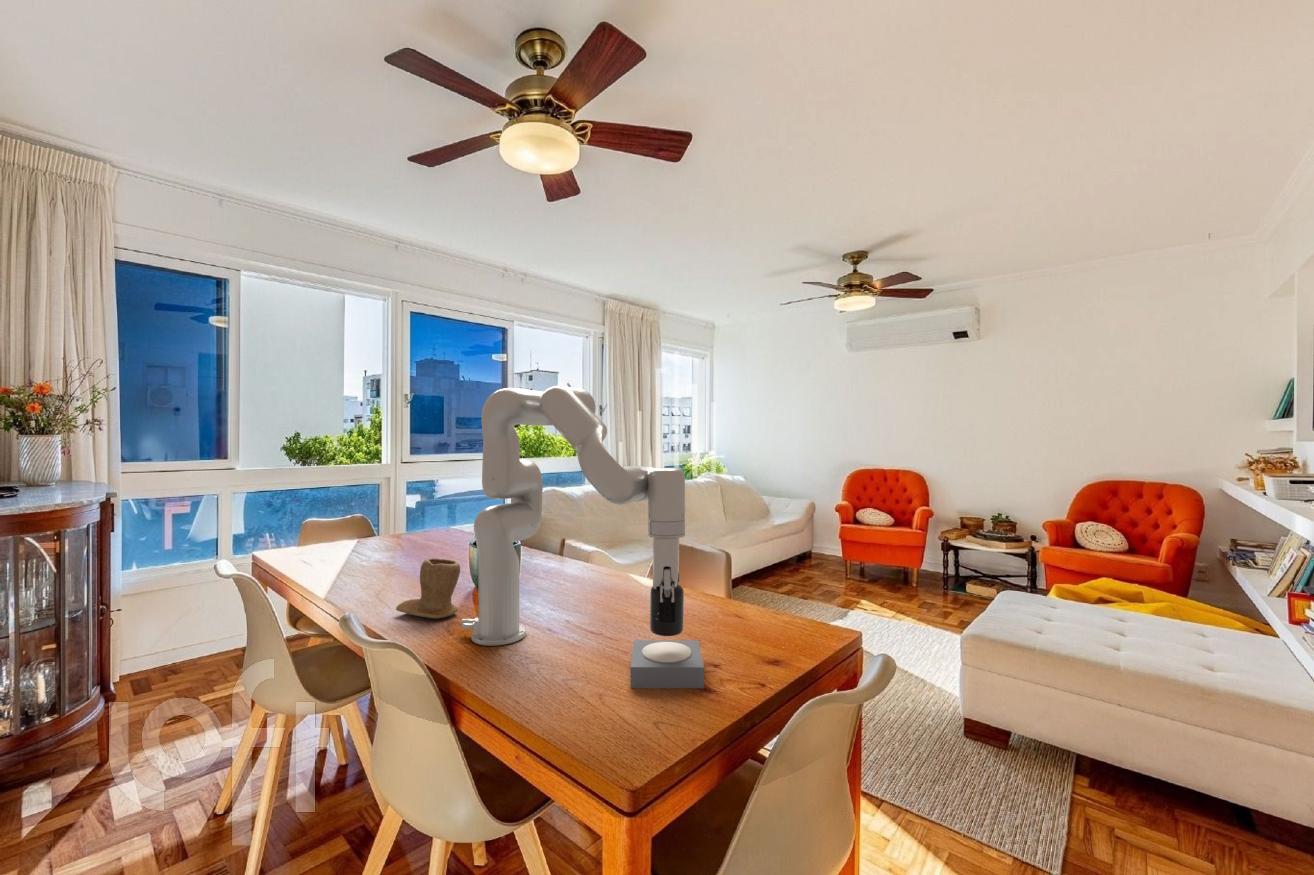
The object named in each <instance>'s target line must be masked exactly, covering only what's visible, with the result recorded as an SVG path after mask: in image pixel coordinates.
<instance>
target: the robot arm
mask: <svg viewBox="0 0 1314 875" xmlns="http://www.w3.org/2000/svg"><path fill="white" fill-rule="evenodd" d="M596 407H597V406H596V401H595V399H594V397H593V395H592V394H591V393H590V392H588V391H587V390H585V389H583V388H579V387H573V386H566V385H565V386H564V385H554V386H551V387H549V388H547V389H546V390H545V391H540V390H533V389H527V388H526V389H525V388H520V387H519V388H517V387H507V388H501V389H498V390H496V391H494V392H493V393H492V394H489V396H488V397H487V398H486V401H485V402H484V403H483V406H482V410H481V420H480V421H481V429H482V437H483V438H482V440H483V441H482V443H483V446H482V463H481V465H482V466H481V467H482V468H481V469H482V470H481V473H482V474H481V486H482V490H483V493H484V495H485V496H486V497H487V498H489V499H493V500H507V499H510V502H509V503H501V504H494V505H490V506H487V507H486V508H484V509H482V510H481V511H479V513H478V514H477V515H476V517H475V519H474V522H473V534H474V538H475V543H476V548H477V549H476V551H477V565H478V567H477V568H478V569H477V570H478V572H477V574H478V580H477V581H478V582H477V583H478V585H477V586H478V588H477V589H478V591H477V592H478V595H477V597H478V599H477V600H478V602H477V604H478V610H477V611H478V613H477V615H478V616H477V617H475V618H474V619H473V618H462V619H461V622H460V626H461V628H462V629H463V630H472V633H471V636H470V637H471V641H472V642H473V643H475V644H476V645H480V646H488V647H489V646H496V647H497V646H504V645H509V644H513V643H516V642H518V641H520V640H522V639H523V638H525V636H526V634H527V628H526V627H525V626H524V625H521V624H520V558H519V555H518V553H517V551H516V548H515V546H514V543H515V542H519V541H523V540H527V539H530V538H532V537H533V536H535V535H536V534H537V533H538V531H539V529H540V526H541V523H542V516H543V515H542V514H543V512H542V511H543V486H544V485H543V483H544V482H543V475H542V472H541V470H540V468H539V466H538V465H537V464H536V463H535V462H534V461H532V460H530V459H526V458H520V456H521V455H520V450H521V444H520V438H519V435H518V432H517V431H516V429H515V426H519V425H523V426H537V427H538V426H542V427H544V426H545V427H546V426H553V427H554V428H555V429H556V430H557V431H558V432H559V434H560V435H561V436H562V437H563V438H564V439H565V441H567V442H568V444H570V446H571V447H572V448H573V449H574V450H575V451H576V454H577V461H578V464H579V466H580V470H581V472H582V474H583V475H584V477H585V478H586V480H587V481H588V483H590V485H591V486H592V487H593V488H594V489H595V490H596V491H597V493H598V494H599V495H600V496H602V497H603V498H604V499H605V500H607V502H610V503H611V504H614V505H626V504H630V503H637V502H642V501H648V502H647V505H648V506H647V507H648V508H647V513H648V516H647V521H648V522H647V524H648V526H647V529H648V530H647V531H648V533H647V534H648V537H650V538H652V539H653V541H652V586H653V587H654V588H656V586H660V602H659V622H660V623H674V622H675V602H674V588H675V587H677V583H678V584H679V582H678V572H679V568H680V567H679V566H680V539H681V538H684V537H686V477H685V472H684V470H682V468H678V467H652V466H645V465H629V466H622V465H621V464H620V463H618V461H617V460H616V459H615V458H614V457H613V456H612V455H611V454H610V453H609V452H608V450H607V449H606V447H605V445H604V443H603V442H604V441H605V439H606V437H607V434H608V428H607V425H606V424H605V423H604V422H603V421H602V420H601V419H600V417H598V416H597V415H596V414H595V413H596ZM674 581H675V583H674ZM662 584H664V586H662ZM671 584H672V586H671ZM663 590H664V591H663Z"/></svg>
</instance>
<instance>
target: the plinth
mask: <svg viewBox="0 0 1314 875" xmlns="http://www.w3.org/2000/svg"><path fill="white" fill-rule="evenodd" d="M630 689H705V665H704V661H703V657H702V653H701V647H700V640H699V639H697V640H694V639H693V640H690V639H688V640H687V639H686V640H685V639H684V640H683V639H681V640H680V639H679V640H678V639H677V640H676V639H675V640H674V639H673V640H671V639H668V640H667V639H666V640H665V639H663V640H662V639H660V640H659V639H648V640H647V639H645V640H644V639H642V640H640V639H639V640H638V639H634V640H633V643H632V653H631V661H630Z"/></svg>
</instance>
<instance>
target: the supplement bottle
mask: <svg viewBox="0 0 1314 875" xmlns="http://www.w3.org/2000/svg"><path fill="white" fill-rule="evenodd" d="M674 583H675V581H674ZM679 583H680V572H679V571H678V583H677V587H675V588H674V602H675V622H674V623H660V622H659V602H660V586H656V588H654V587H653V585H652V587H651V588H650V594H649V595H650V596H649V597H650V598H649V599H650V600H649V602H650V610H649V611H650V612H649V628H650V631H651V633H652V634H654V635H656V636H660V637H674V636H678V635H680V634H681V633H682V632H683V631H684V614H685V613H684V612H685V611H684V606H685V605H684V604H685V603H684V602H685V601H684V600H685V591H684V588H683V586H682V585H681V584H679ZM662 586H664V584H662ZM671 586H672V584H671ZM663 591H664V590H663Z"/></svg>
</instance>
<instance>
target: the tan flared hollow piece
mask: <svg viewBox="0 0 1314 875" xmlns="http://www.w3.org/2000/svg"><path fill="white" fill-rule="evenodd" d="M460 574H461V565H460V563H459V562H458V561H456V560H452V559H445V558H434V557H433V558H430V557H429V558H425V559H424V561H423V562H422V563H421V565H420V571H419V585H420V592H421V595H420V598H413V599H409V600H405V601H403V602H400V603H399V604H397V606H395V607H396V608H395V610H396V611H397V612H400V613H404V614H409V615H412V616H417V617H421V618H426V619H427V618H428V619H443V618H447V617H450V616H452V615H453V616H454V614H456V613H457V612H459V607H457V606H456V605H454V604H453V603H452V597H453V594H454V591H455V589H456V587H457V583H458V581H459V578H460Z"/></svg>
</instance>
